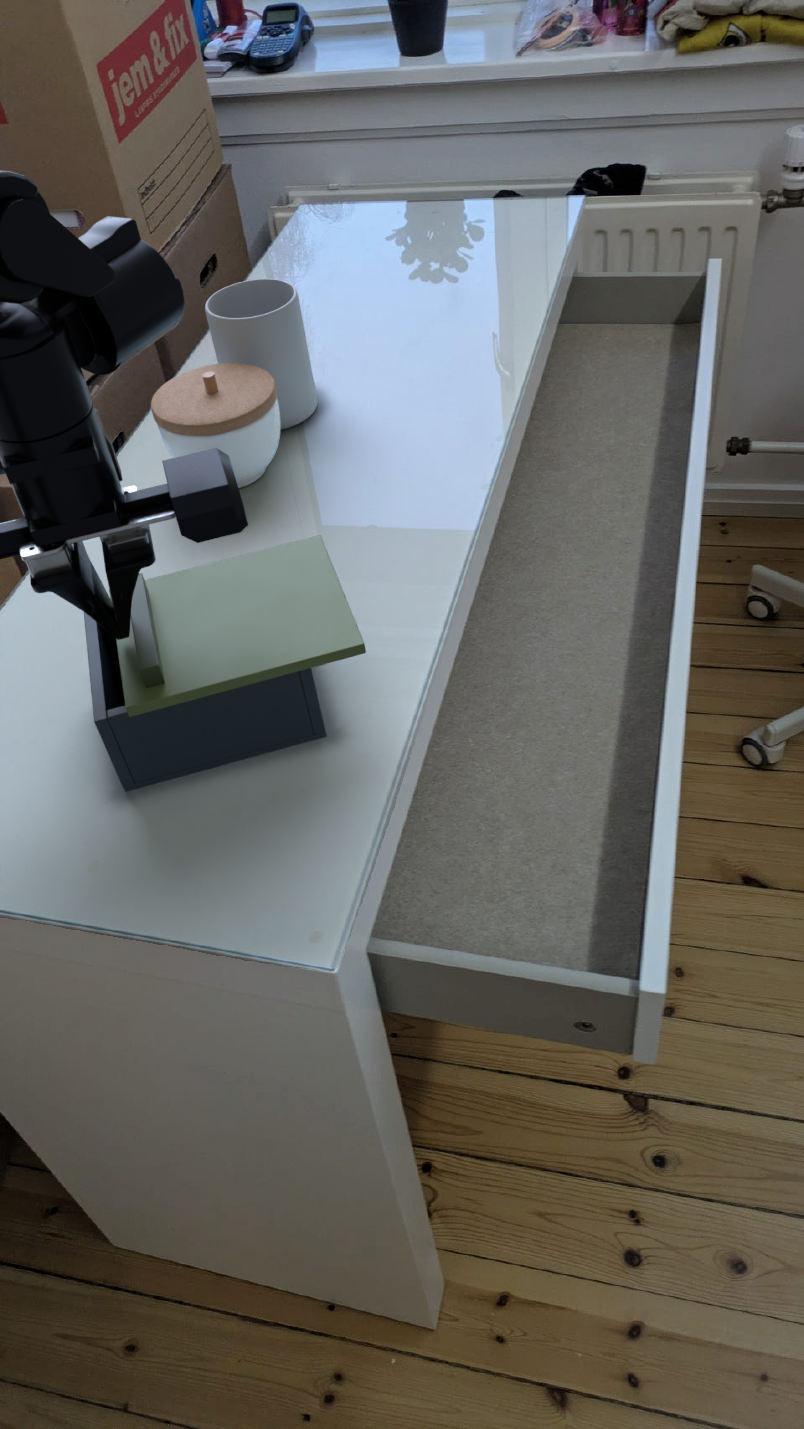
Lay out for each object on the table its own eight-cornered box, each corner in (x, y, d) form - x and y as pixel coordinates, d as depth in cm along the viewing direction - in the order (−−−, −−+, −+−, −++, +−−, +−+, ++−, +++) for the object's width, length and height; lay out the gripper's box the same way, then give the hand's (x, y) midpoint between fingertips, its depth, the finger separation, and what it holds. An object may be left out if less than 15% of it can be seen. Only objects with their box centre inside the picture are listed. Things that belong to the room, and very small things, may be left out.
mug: (316, 427, 102) (295, 313, 94) (226, 437, 102) (198, 325, 95) (320, 366, 110) (301, 257, 103) (237, 376, 111) (212, 268, 103)
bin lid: (129, 717, 66) (118, 690, 65) (112, 597, 75) (102, 571, 74) (366, 653, 68) (361, 625, 67) (322, 543, 77) (316, 516, 75)
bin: (124, 792, 71) (94, 721, 66) (111, 679, 79) (83, 610, 75) (327, 736, 73) (310, 664, 68) (293, 631, 81) (276, 560, 76)
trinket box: (301, 437, 101) (281, 340, 94) (280, 503, 93) (258, 403, 87) (189, 442, 102) (163, 348, 96) (160, 508, 95) (129, 410, 88)
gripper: (190, 318, 66) (244, 531, 77) (-124, 388, 64) (-23, 598, 75) (218, 401, 58) (273, 626, 69) (-140, 485, 56) (-24, 704, 67)
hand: (123, 634), depth 70 cm, fingers closed
